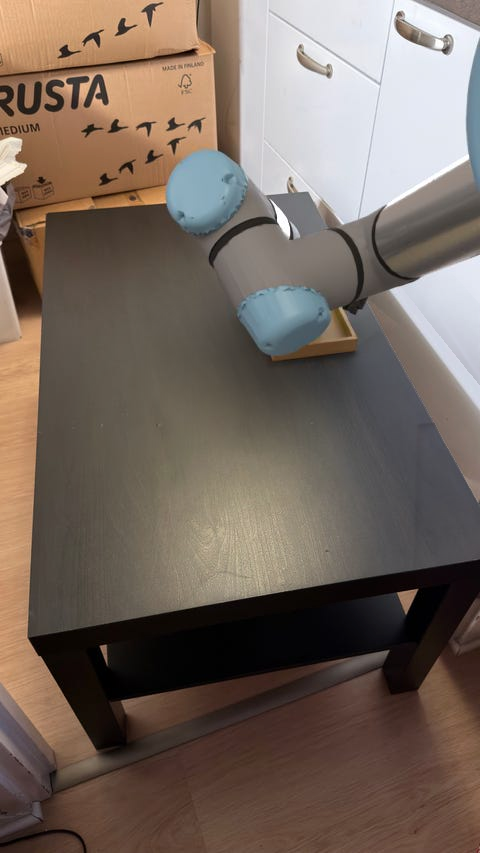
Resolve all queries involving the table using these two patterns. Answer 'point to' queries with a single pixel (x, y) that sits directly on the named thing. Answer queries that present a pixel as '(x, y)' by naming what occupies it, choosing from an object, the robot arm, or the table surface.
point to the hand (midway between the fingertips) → (315, 288)
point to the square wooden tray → (328, 339)
